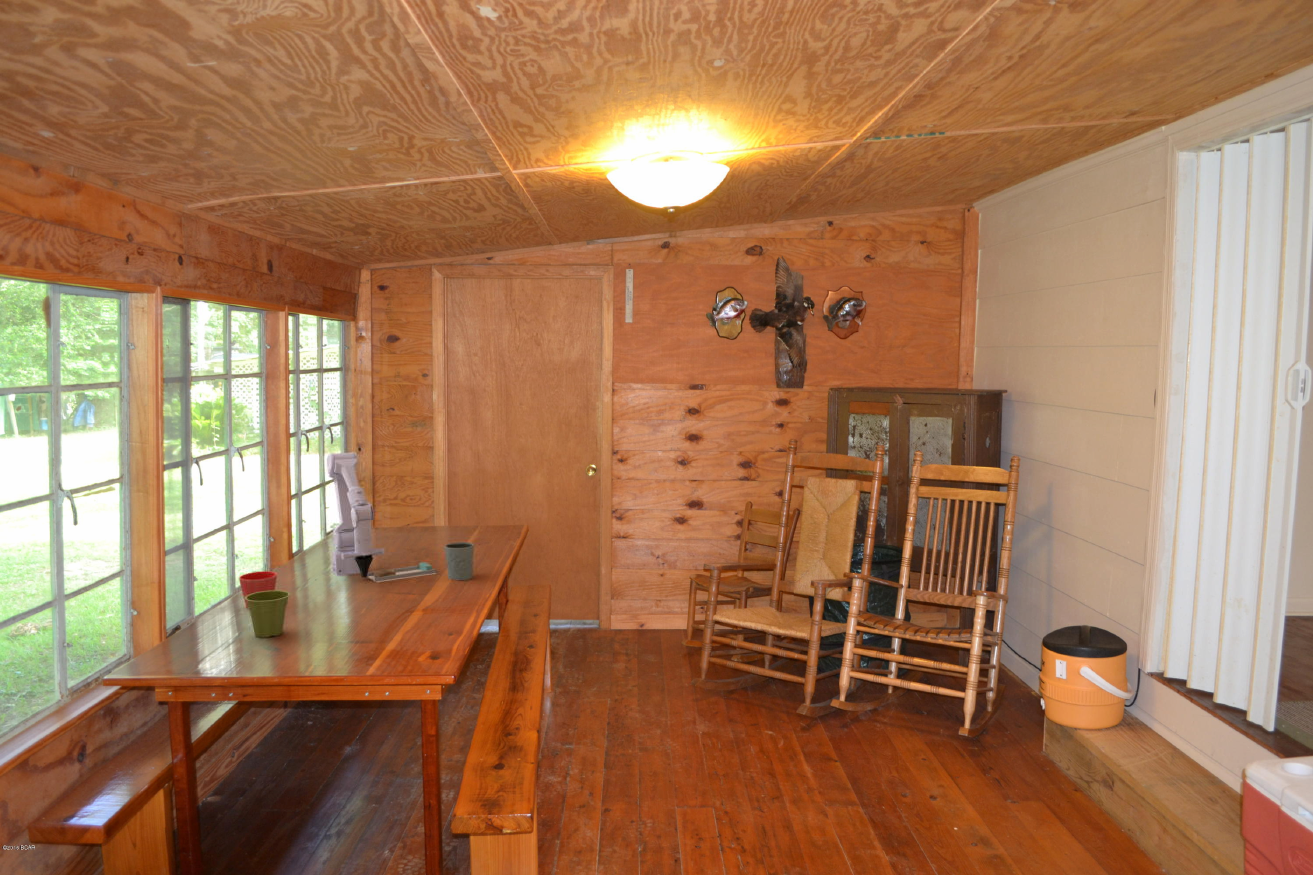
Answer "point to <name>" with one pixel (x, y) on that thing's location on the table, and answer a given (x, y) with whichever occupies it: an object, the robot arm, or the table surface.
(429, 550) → the table surface
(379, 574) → the block
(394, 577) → the track
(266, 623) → the plant pot
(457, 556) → the grey tapered pot
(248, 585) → the flower pot
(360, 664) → the table surface
